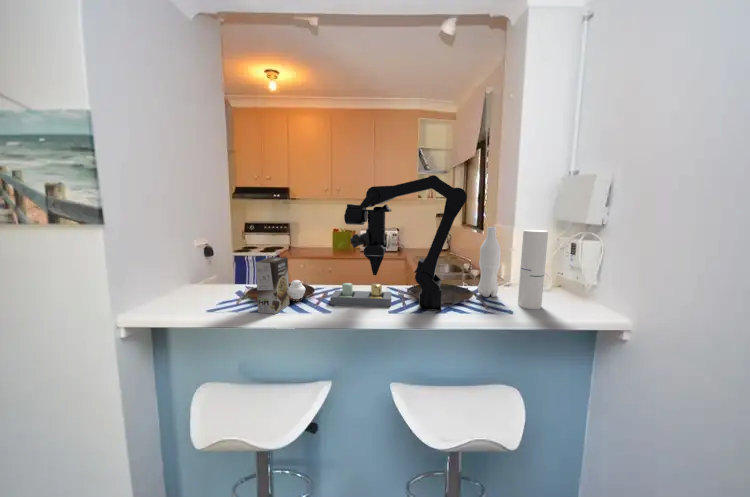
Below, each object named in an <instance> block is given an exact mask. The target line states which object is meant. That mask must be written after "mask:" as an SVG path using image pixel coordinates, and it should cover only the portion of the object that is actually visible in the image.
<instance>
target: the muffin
mask: <svg viewBox="0 0 750 497" xmlns="http://www.w3.org/2000/svg"><path fill="white" fill-rule="evenodd" d="M305 292H306V287H305V286H304V285H303V283H302V281H301V280H299V279H293V280H292V281H291V283H290V285H289V298H293V299H300V298H302V299H303V297H304V295H305Z"/></svg>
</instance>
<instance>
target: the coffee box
mask: <svg viewBox="0 0 750 497" xmlns="http://www.w3.org/2000/svg"><path fill="white" fill-rule="evenodd" d="M288 259H289V258H288V257H287V256H286V257H284V256H281V257H280V256H275V257H274V256H269V257H266V258H263V259H261V260H257V261H255V271H256V272H255V274H256V278H255V279H256V293H257V294H256V296H257V312H258V313H260V314H271V315H277V314H278V313H280V312H281V311H282V310H284V309H285V308H287V307H288V306H289V305H290V295H289V286H290V285H289V265H288V262H289V260H288Z"/></svg>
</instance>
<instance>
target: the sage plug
mask: <svg viewBox="0 0 750 497" xmlns="http://www.w3.org/2000/svg"><path fill="white" fill-rule="evenodd" d="M341 286H342V287H341V288H342V290H341V291H342V296H352V297H353V291H354V288H353V287H354V286H353V283H351V282H345V283H342V284H341Z"/></svg>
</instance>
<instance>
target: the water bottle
mask: <svg viewBox="0 0 750 497" xmlns="http://www.w3.org/2000/svg"><path fill="white" fill-rule="evenodd" d="M486 228H487V230H486V236H485V239H484V240H483V242H482V244H481V245H480V248H479V263H478V265H479V268H480V280H479V283H478V285H477V292H478V294H479V295H480V296H483V297H484V298H489V297H490V296H491V298H495V297H496V296H497V295H498V292H499V285H498V272H499V270H500V267H501V252H502V248H501V245H500V243H499V241H498V238H497V227H496V226H487V227H486Z"/></svg>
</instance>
